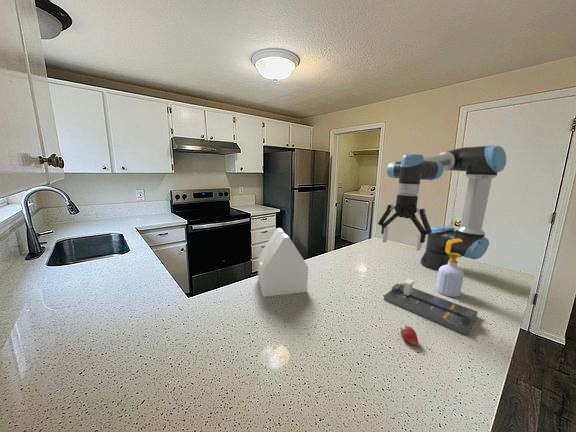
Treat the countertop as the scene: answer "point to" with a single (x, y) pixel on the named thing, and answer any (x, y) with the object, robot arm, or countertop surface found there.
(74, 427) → the countertop surface
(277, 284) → the white toy house
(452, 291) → the soap bottle
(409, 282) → the fader
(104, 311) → the countertop surface
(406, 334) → the fruit
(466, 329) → the console
